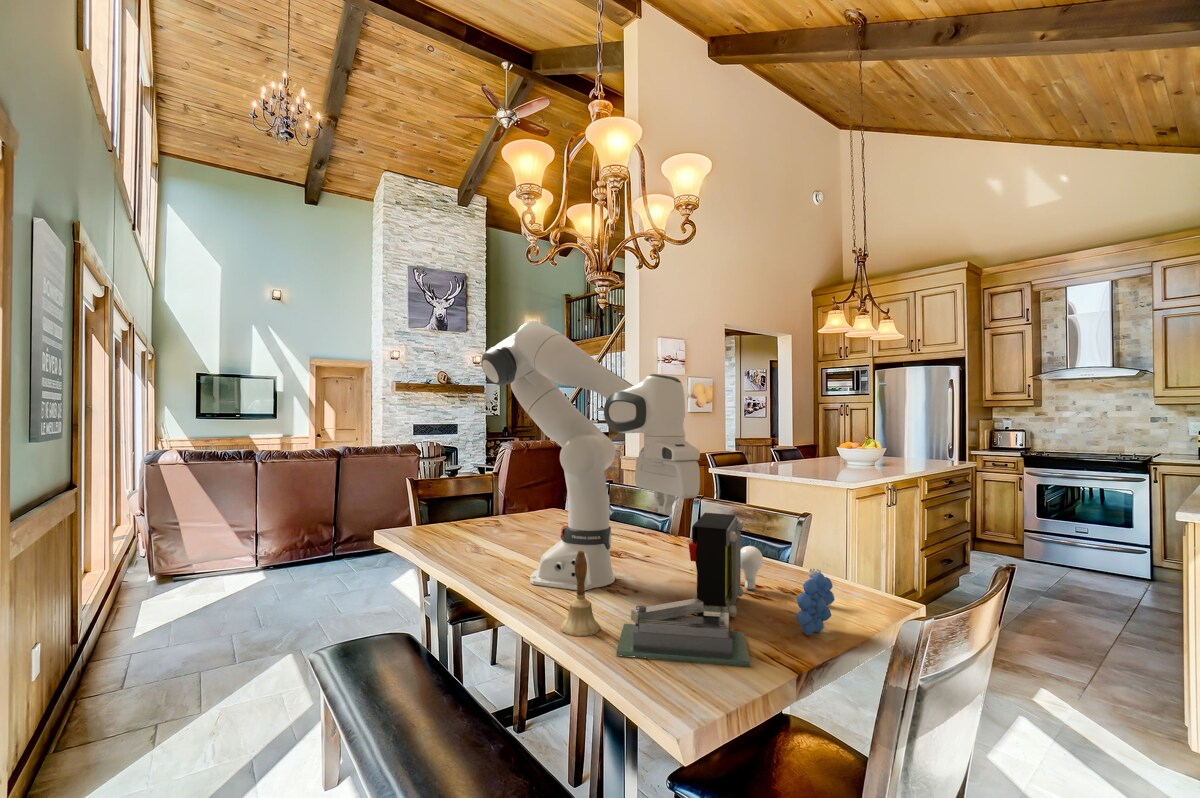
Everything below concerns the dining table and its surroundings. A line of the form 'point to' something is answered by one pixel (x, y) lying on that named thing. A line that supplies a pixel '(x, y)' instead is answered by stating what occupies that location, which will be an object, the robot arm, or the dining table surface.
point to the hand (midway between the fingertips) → (664, 513)
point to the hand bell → (580, 605)
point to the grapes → (815, 603)
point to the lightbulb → (750, 565)
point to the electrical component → (717, 560)
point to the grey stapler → (686, 639)
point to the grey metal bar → (666, 610)
